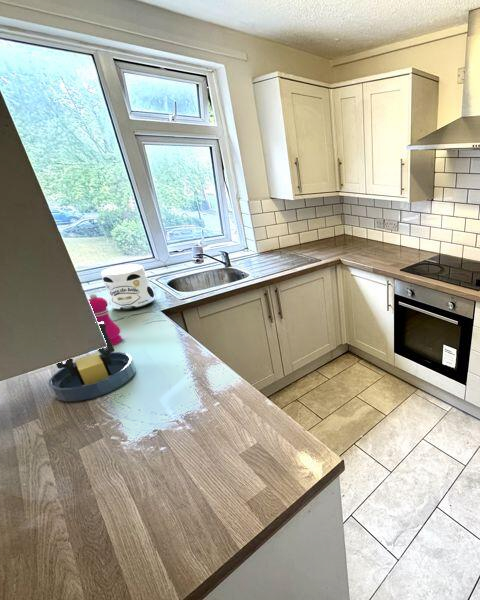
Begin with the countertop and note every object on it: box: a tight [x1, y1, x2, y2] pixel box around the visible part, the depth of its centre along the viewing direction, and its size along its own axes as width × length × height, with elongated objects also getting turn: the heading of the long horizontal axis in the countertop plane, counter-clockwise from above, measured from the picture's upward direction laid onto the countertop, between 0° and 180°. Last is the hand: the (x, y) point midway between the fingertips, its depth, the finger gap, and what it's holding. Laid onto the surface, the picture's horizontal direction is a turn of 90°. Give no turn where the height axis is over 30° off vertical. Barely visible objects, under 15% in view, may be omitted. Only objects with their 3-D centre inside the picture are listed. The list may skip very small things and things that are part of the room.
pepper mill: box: [88, 293, 123, 346], centre depth 121 cm, size 7×7×20 cm
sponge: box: [74, 352, 109, 385], centre depth 101 cm, size 8×6×7 cm
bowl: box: [48, 351, 136, 402], centre depth 102 cm, size 19×19×5 cm
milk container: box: [100, 264, 156, 311], centre depth 153 cm, size 17×17×18 cm
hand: (96, 377), depth 102 cm, fingers closed on sponge, 5 cm apart
